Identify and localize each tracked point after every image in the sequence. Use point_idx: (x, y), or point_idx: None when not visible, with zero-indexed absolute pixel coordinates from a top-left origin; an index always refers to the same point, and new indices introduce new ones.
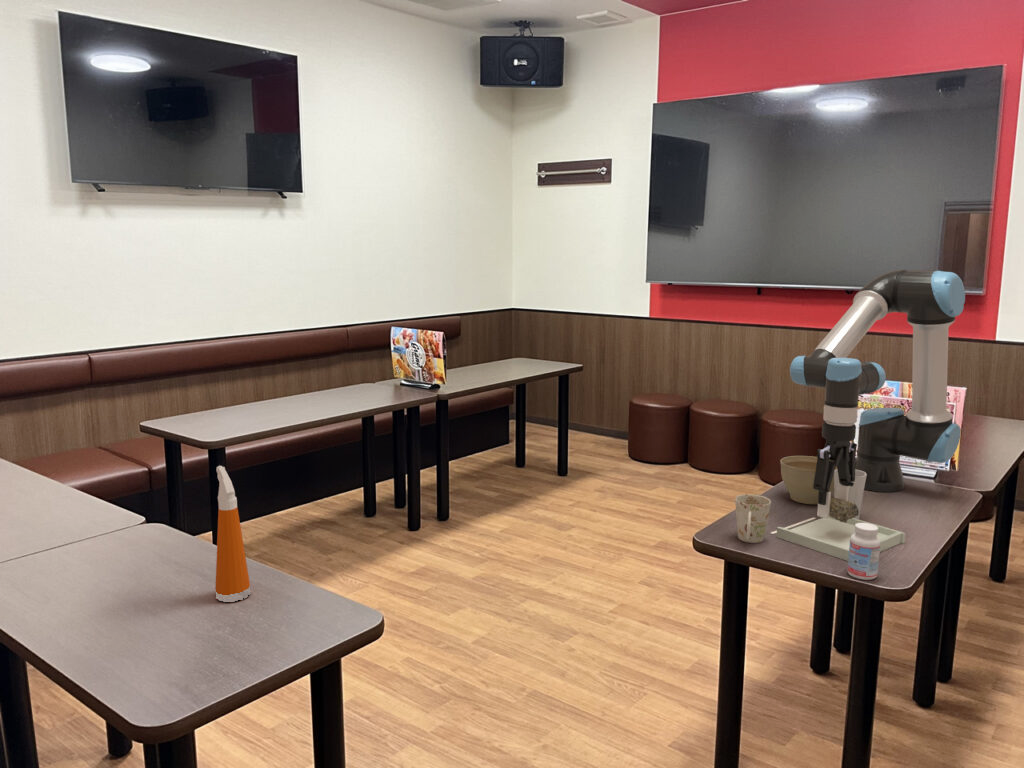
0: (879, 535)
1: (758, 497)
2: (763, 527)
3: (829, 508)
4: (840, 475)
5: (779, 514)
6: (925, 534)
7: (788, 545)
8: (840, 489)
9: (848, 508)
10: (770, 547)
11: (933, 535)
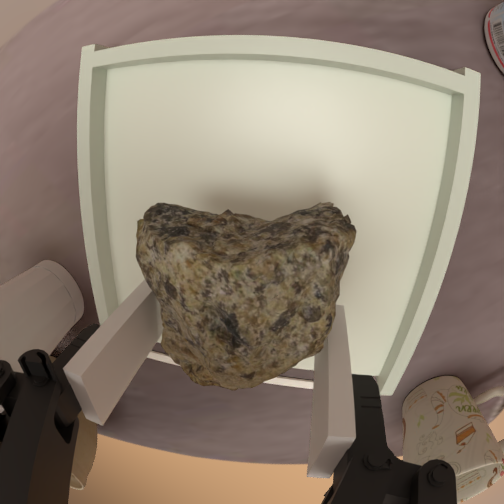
0: (127, 121)
1: None
2: (464, 405)
3: (330, 340)
4: (64, 467)
5: (197, 415)
6: (17, 75)
7: (436, 322)
8: (109, 389)
9: (283, 241)
10: (473, 344)
11: (13, 60)
